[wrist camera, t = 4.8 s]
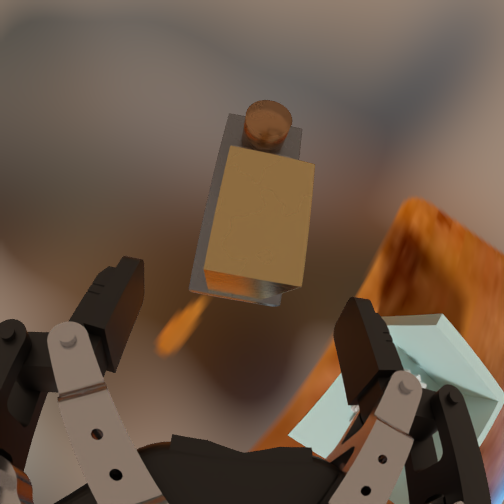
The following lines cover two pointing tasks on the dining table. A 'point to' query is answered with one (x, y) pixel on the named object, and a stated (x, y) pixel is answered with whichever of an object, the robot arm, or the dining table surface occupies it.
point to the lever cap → (260, 225)
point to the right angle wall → (430, 377)
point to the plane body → (236, 134)
